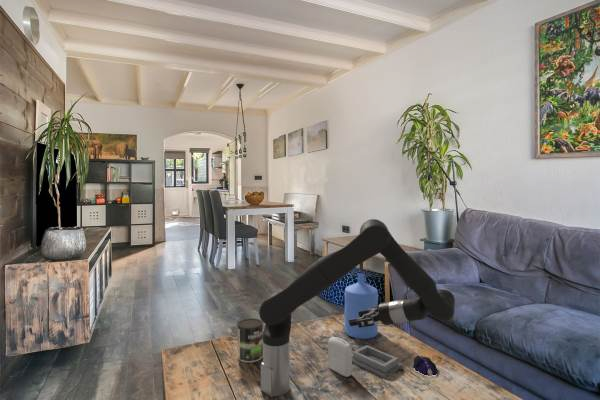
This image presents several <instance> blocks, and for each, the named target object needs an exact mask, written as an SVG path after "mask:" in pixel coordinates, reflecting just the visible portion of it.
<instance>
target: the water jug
mask: <svg viewBox="0 0 600 400" xmlns="http://www.w3.org/2000/svg"><path fill="white" fill-rule="evenodd" d="M365 276H366V274H365V273H358V274H357V282H356V283H353V284H350V285H348V286H346V287H345V289H344V329H343V330H344V332H345V334H346V336H349V337H351V338H354V339H360V340H368V339H372V338H375V337H376V336H377V335H378V332H379V328H378V324H379V323H378V322H379V321H378V322H377V323H374V324H375V325H374V326H367V327H361V328H359V327H358V325H356V326H350V324H349V320H350V319H356V318H360V317H359V314H358V312H359V311H363V310H367V309H371V307H374V306H379V305H378V304H379V292H378V289H377V288H376V287H374V286H372V285H370V284H368V283H366V281H365V278H366V277H365ZM366 318H367V317H366ZM362 323H363V322H362Z"/></svg>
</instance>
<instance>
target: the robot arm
mask: <svg viewBox="0 0 600 400" xmlns="http://www.w3.org/2000/svg"><path fill="white" fill-rule="evenodd" d="M378 254H380V255H382V257H384V258H385V259H386V260H387V262H388V263H389V264H390V265H391V266H392V268H393V269H394V270H395V271H396V273H397V274H398V275H399V277H400V278H401V279H402V280H403V282H404V283H405V284H406V285H407V286H408V287H409V288H410V289H411V290H412V291H413V292H414V293H415V294H416V295H417V296H418V297H414V298H408V299H398V300H397V299H396V300H392V301H386V302H380V303H379V305H377V306H374V307H371V308H370V309H367V310H363V311H359V312H358V314H359V317H360V318H356V319H350V320H349V324H350V326H356V325H358V327H359V328H361V327H367V326H374V325H375V324H374V323H377V322H381V324H383V325H384V326H389V325H391V326H392V325H398V324H403V323H408V322H413V321H415V322H416V321H420V320H421V321H422V320H425V319H426V318H427V316H428V314H429V315H430V316H431V317H433V318H434V319H435V320H437V321H439V322H443V323H445V322H450V321H451V320H452V319H453V318H454V315H455V304H456V303H455V302H456V298H455V296H454V294H453V293H452V292H451V291H449V290H447V289H443V288H442V289H438V288H437V284H436V281H435V279H433V278H432V277H431V276H430V275H429V274H428V272H427V271H425V270H424V269H423V268H422V267H421V266H420V264H419V263H417V262H416V261H415V260H414V259H413V258H412V257H411V256H410V255H409V254H408V253H407V252H406V251H405V250H404V249H403V247H401V245H400V244H399V243H398V242H397V240H396V239H395V238H394V236H393V235H392V234H391V232H390V230H389V229H388V227H387V225H386V224H385V223H384V222H383V221H381V220H379V219H375V218H374V219H373V218H370V219H368V220H366V221H364V222H363V223H362V224H361V226H360V228H359V233H358V235H357V236H356V237H355V238H353V239H352V240H351V241H350V242H348V243H347V244H346V245H344V246H343V247H341V248H339V249H337V250H334V251H332V252H330V253H328V254H326V255H323V256H322V257H320V258H319V259H318V260H316V261H314V262H313V263H312V264H311V265H309V266H307V268H305V270H303V271H302V272H301V273H300V274H298V276H297V277H296V278H295V279H294V280H293V281H292V282H291V283H290V284H289V285H288V286H287V287H285V288H284V289H283V290H281V291H275V292H272V293H270V294H269V295H268V296H267V297H266V298H265V299H264V300H263V301H262V303H260V307H259V311H258V314H259V318H260V320H261V321H262V322H263V324H265V325H264V329H263V331H262V333H263V357H262V362H261V363H260V390H261V391H262V392H263V393H264V394H266V395H267V396H269V397H270V398H274V397H281V396H284V395H286V394H288V392H289V391H290V389H291V387H290V386H291V385H290V384H291V382H290V381H291V377H290V376H291V375H290V363H291V362H290V360H291V359H290V358H291V357H290V350H291V349H290V335H291V329H292V313H294V311H296V310H297V309H298V308H299V307H300V306H302V305H303V304H305V303H307V302H308V301H310V300H312V299H314V298H315V297H317V296H318V295H320V294H322V293H323V292H324V291H326V290H327V289H329V288H330V287H332V286H334V284H336V283H337V282H338V281H340V280H341V279H343V278H344V277H345V276H347V274H349V273H350V272H352V271H353V270H354V269H355V268H357V267H358V266H359V265H361V264H362V263H364V262H366V261H368V260H370V259H371V258H373V257H375V256H376V255H378ZM366 317H367V318H366ZM362 322H363V323H362Z"/></svg>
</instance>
